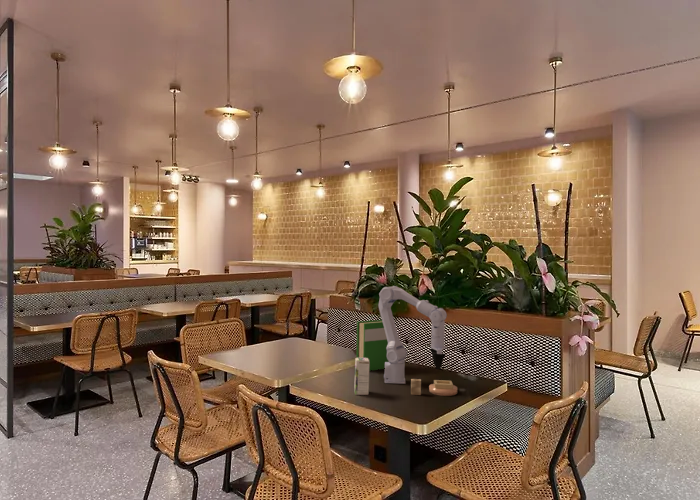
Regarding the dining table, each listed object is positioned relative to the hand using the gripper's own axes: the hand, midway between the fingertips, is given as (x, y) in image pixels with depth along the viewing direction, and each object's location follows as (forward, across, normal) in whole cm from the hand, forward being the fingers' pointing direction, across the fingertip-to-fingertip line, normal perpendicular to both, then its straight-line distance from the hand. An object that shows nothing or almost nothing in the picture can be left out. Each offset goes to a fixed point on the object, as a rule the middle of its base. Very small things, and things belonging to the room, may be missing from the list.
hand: (437, 366), depth 210 cm
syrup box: (+10, -10, +33) cm, 36 cm away
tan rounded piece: (+10, -4, -2) cm, 11 cm away
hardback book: (+10, +34, +28) cm, 45 cm away
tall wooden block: (+10, -9, +10) cm, 16 cm away
